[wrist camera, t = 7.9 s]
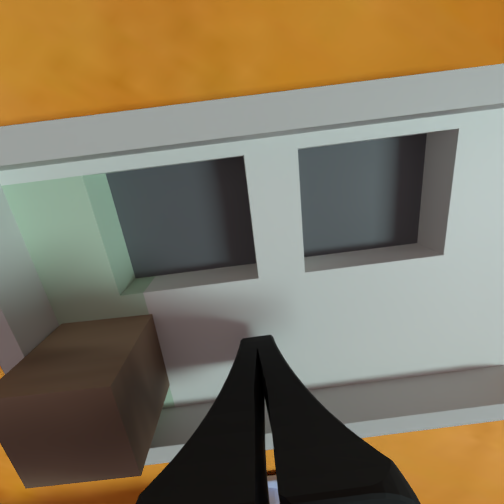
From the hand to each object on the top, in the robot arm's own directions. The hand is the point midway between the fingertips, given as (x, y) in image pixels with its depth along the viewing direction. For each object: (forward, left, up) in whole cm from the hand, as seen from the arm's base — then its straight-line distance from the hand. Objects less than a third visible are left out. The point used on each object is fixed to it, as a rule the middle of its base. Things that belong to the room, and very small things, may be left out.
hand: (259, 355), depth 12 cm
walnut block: (0, +7, -1) cm, 7 cm away
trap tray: (+3, -1, -3) cm, 4 cm away
